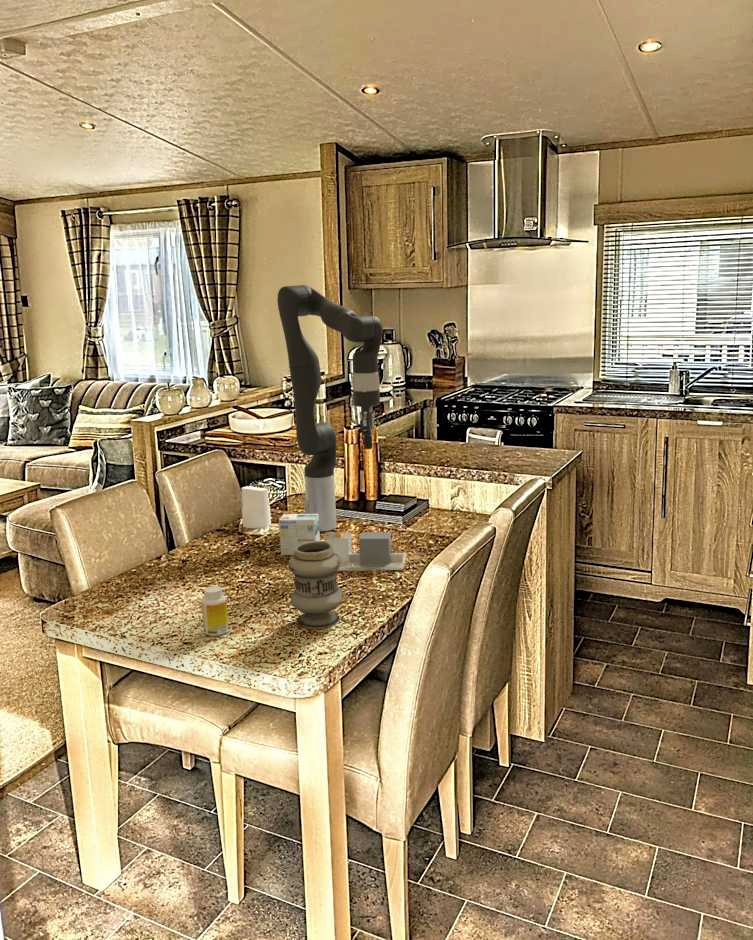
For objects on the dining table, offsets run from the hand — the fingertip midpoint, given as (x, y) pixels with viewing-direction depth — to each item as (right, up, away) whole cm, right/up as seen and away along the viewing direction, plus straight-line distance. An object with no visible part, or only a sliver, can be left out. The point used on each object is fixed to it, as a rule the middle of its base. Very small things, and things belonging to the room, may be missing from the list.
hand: (368, 448), depth 243 cm
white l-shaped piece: (-1, -32, -9) cm, 33 cm away
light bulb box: (-20, -30, +3) cm, 36 cm away
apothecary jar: (-11, -41, -47) cm, 63 cm away
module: (+2, -31, -10) cm, 32 cm away
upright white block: (-36, -24, +32) cm, 54 cm away
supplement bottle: (-34, -43, -51) cm, 75 cm away
